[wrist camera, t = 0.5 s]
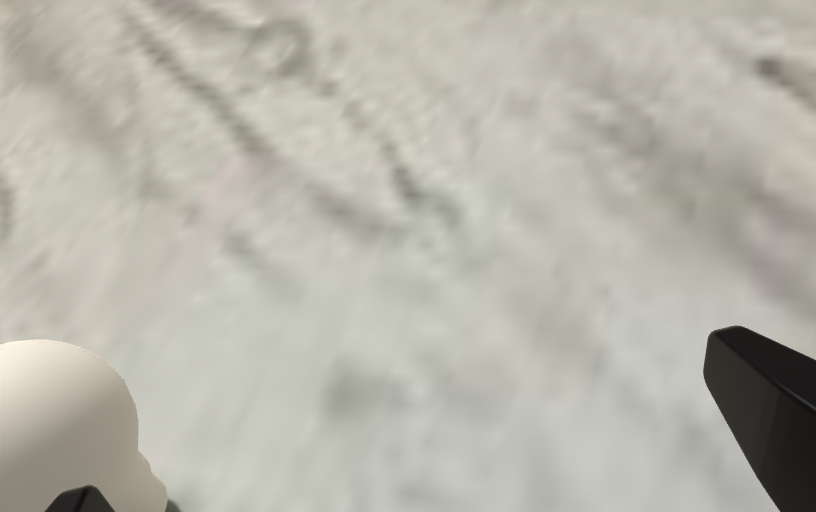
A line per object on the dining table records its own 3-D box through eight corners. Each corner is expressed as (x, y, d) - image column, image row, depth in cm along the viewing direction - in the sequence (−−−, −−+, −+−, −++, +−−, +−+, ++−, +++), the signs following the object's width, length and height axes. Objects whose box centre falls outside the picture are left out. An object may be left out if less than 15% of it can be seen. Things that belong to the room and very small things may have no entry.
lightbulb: (152, 629, 22) (-65, 572, 14) (37, 551, 24) (-216, 457, 16) (249, 473, 25) (122, 345, 17) (139, 416, 27) (-25, 275, 19)
